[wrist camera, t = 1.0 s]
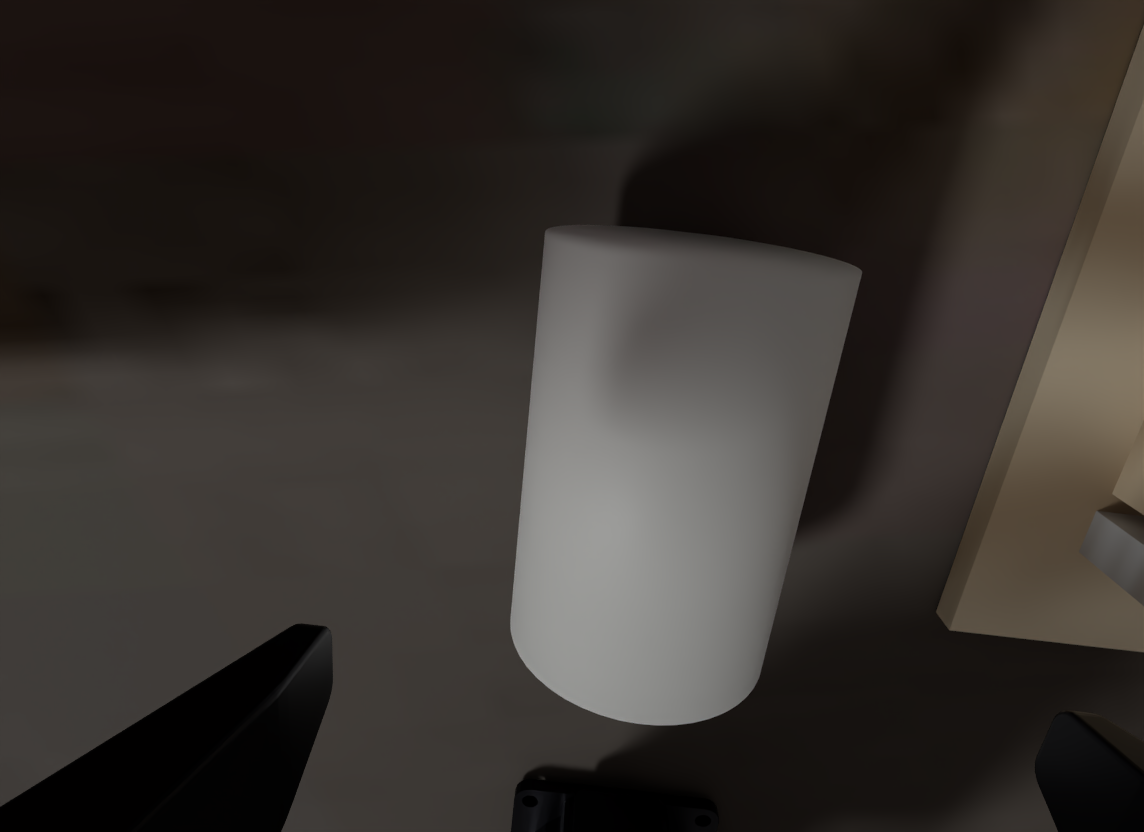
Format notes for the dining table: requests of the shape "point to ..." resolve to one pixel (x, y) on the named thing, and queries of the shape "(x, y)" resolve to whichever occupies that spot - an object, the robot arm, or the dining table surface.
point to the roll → (668, 461)
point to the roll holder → (1073, 434)
